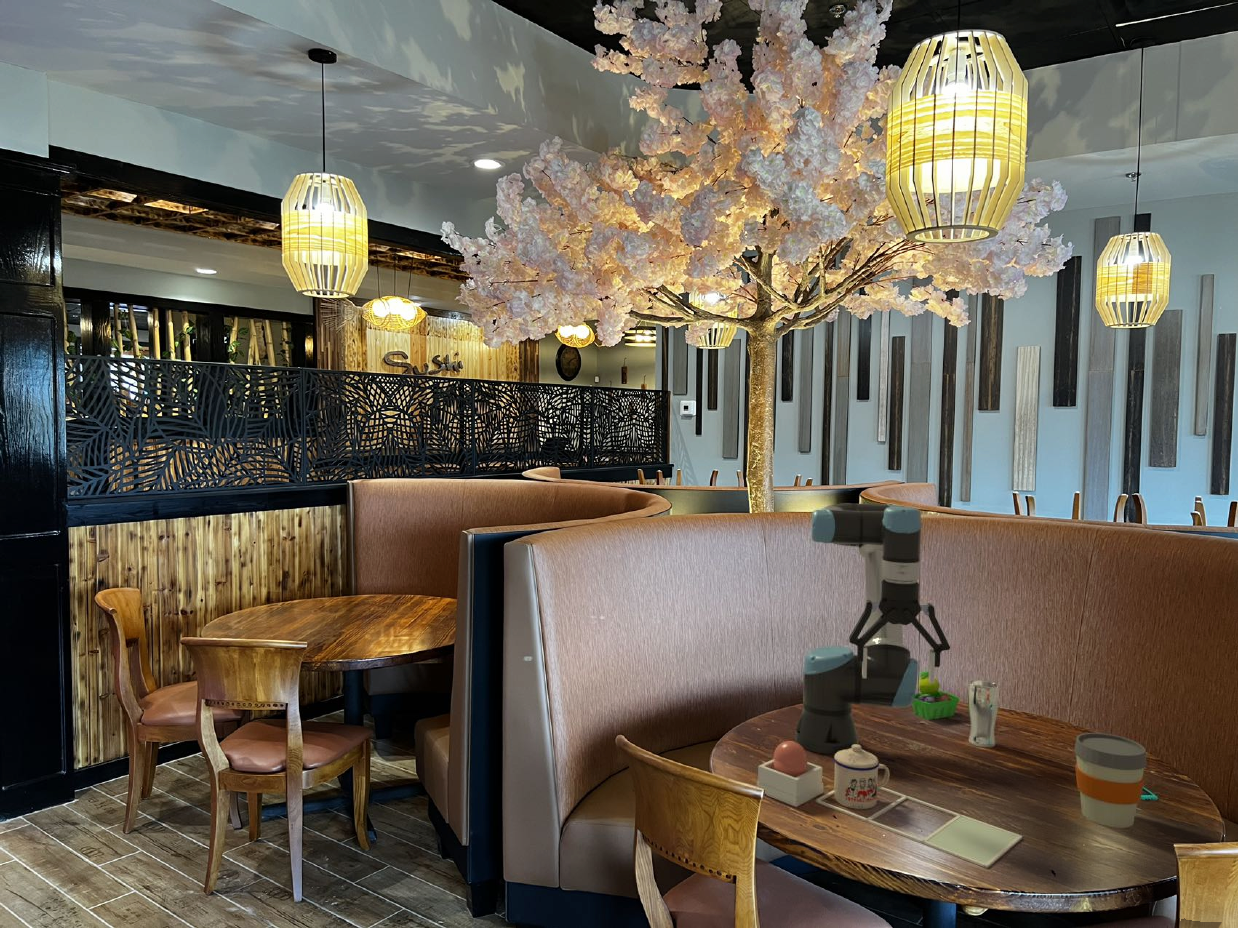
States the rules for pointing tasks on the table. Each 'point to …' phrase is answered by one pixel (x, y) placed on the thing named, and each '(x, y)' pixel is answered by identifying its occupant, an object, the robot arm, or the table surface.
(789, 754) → the red ball
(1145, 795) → the handheld game console
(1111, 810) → the reusable coffee cup
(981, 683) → the beer glass
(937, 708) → the fruit basket
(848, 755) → the teacup with lid
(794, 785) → the grey square box
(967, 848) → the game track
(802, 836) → the table surface
